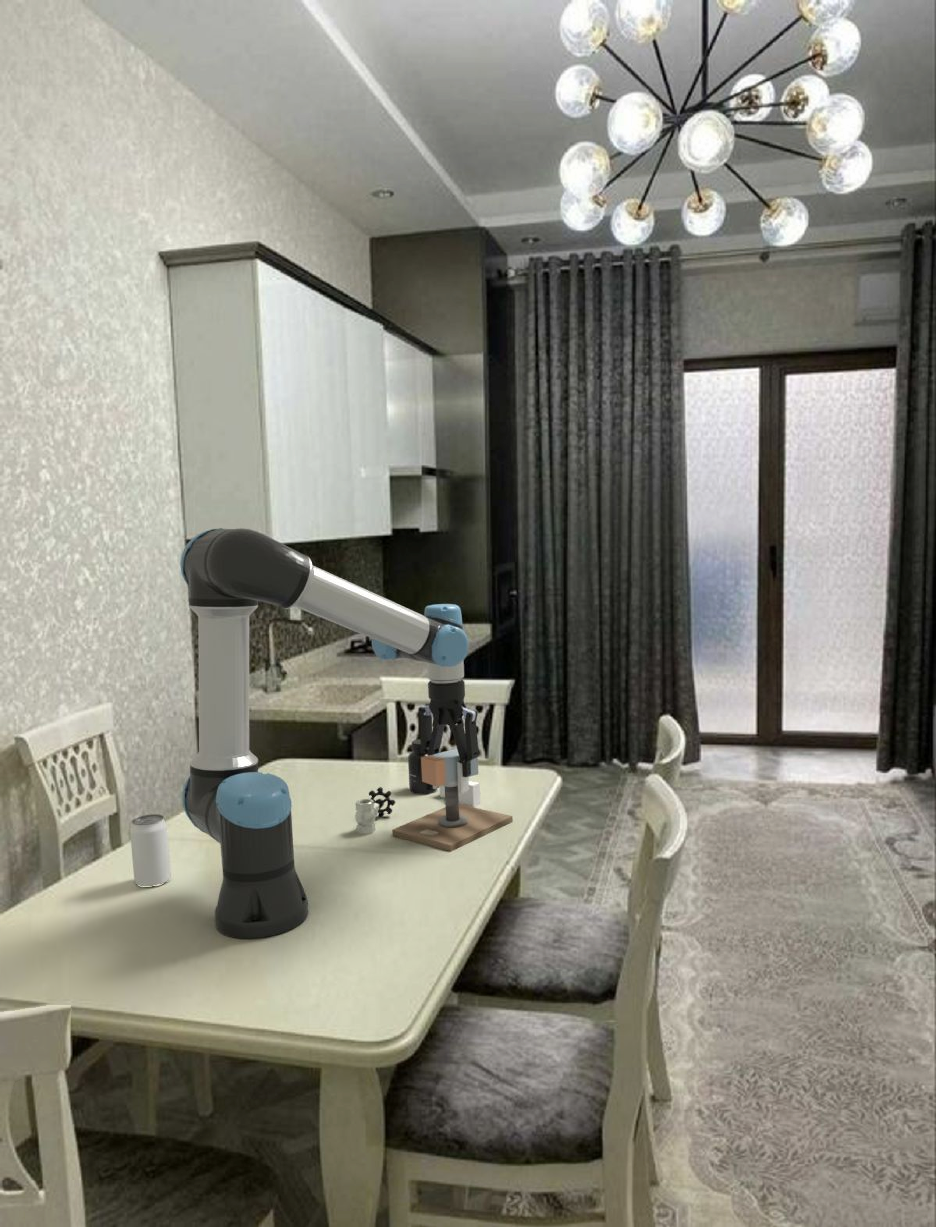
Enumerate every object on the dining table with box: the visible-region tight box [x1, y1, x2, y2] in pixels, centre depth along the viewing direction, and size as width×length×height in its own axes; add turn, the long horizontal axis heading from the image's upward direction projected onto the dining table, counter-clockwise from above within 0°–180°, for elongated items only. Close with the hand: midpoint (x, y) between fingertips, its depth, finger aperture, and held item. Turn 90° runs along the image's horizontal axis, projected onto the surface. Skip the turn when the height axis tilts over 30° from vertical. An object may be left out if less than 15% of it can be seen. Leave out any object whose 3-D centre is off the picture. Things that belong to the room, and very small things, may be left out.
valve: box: [354, 786, 396, 836], centre depth 195 cm, size 7×7×12 cm
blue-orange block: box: [421, 748, 479, 787], centre depth 189 cm, size 5×11×6 cm, turn 130°
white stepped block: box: [439, 780, 482, 808], centre depth 209 cm, size 15×11×6 cm
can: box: [129, 813, 172, 886], centre depth 169 cm, size 6×6×12 cm
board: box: [391, 786, 514, 852], centre depth 190 cm, size 20×16×9 cm
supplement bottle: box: [407, 739, 438, 795], centre depth 217 cm, size 7×7×12 cm
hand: (450, 789), depth 189 cm, fingers closed on blue-orange block, 6 cm apart
